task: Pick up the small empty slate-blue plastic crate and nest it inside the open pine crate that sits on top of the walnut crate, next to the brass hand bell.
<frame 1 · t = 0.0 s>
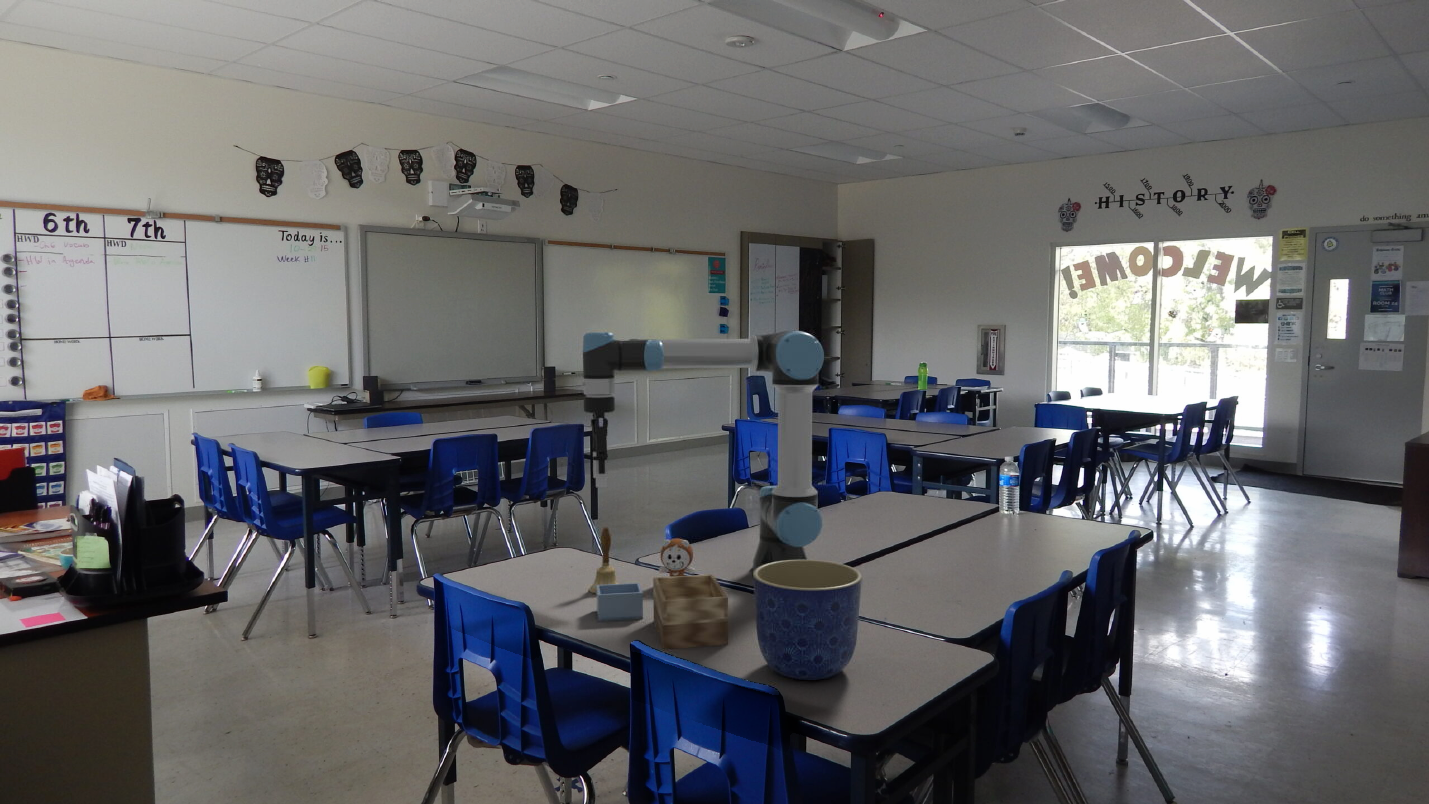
hand: (600, 482, 218), 28 cm above the table, fingers open, 13 cm apart
figurine: (676, 586, 227), on the table
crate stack: (689, 632, 192), on the table
hand bell: (605, 590, 224), on the table
planter: (806, 671, 171), on the table
blue crate: (619, 614, 205), on the table
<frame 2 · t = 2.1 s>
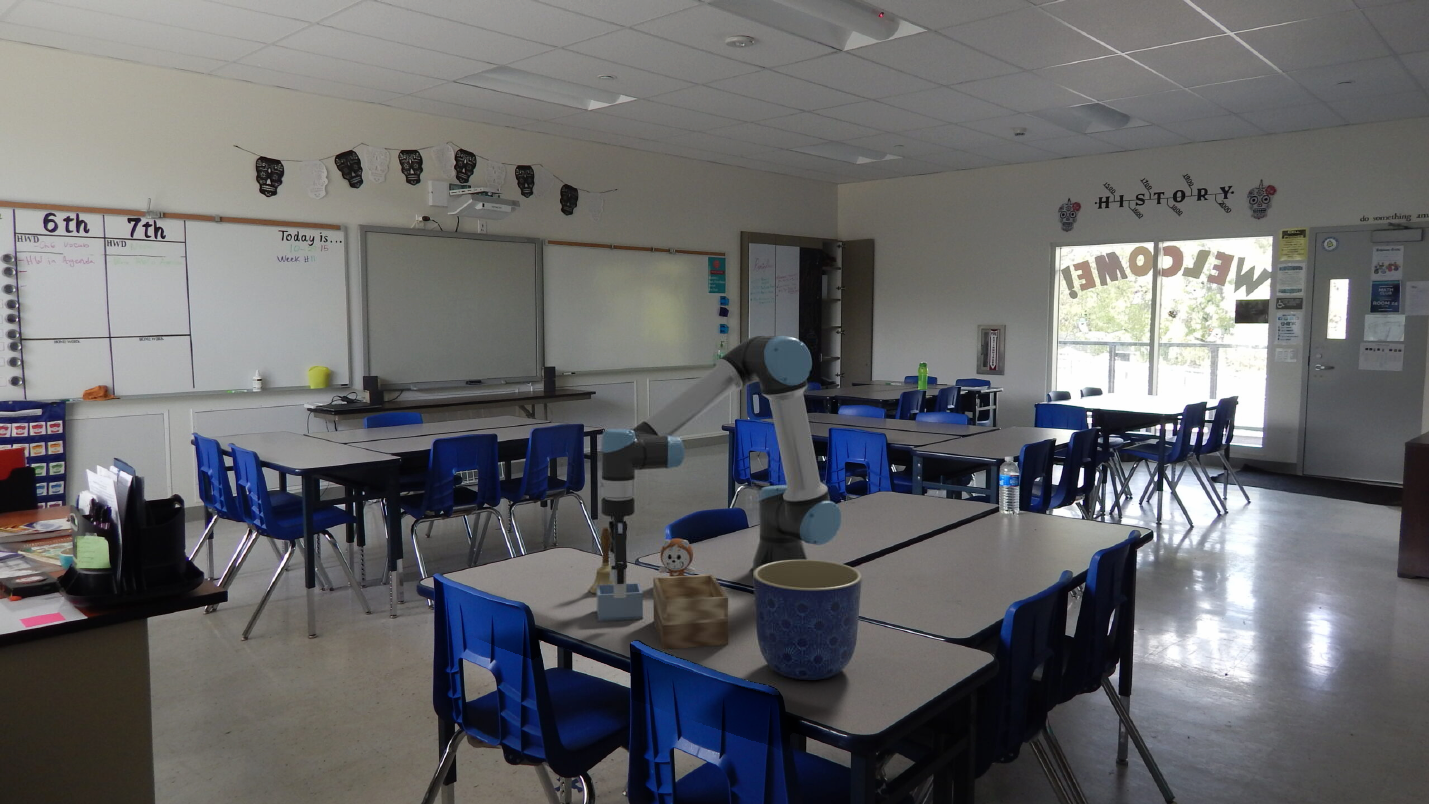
hand: (617, 588, 204), 6 cm above the table, fingers open, 13 cm apart
nothing on the table moved.
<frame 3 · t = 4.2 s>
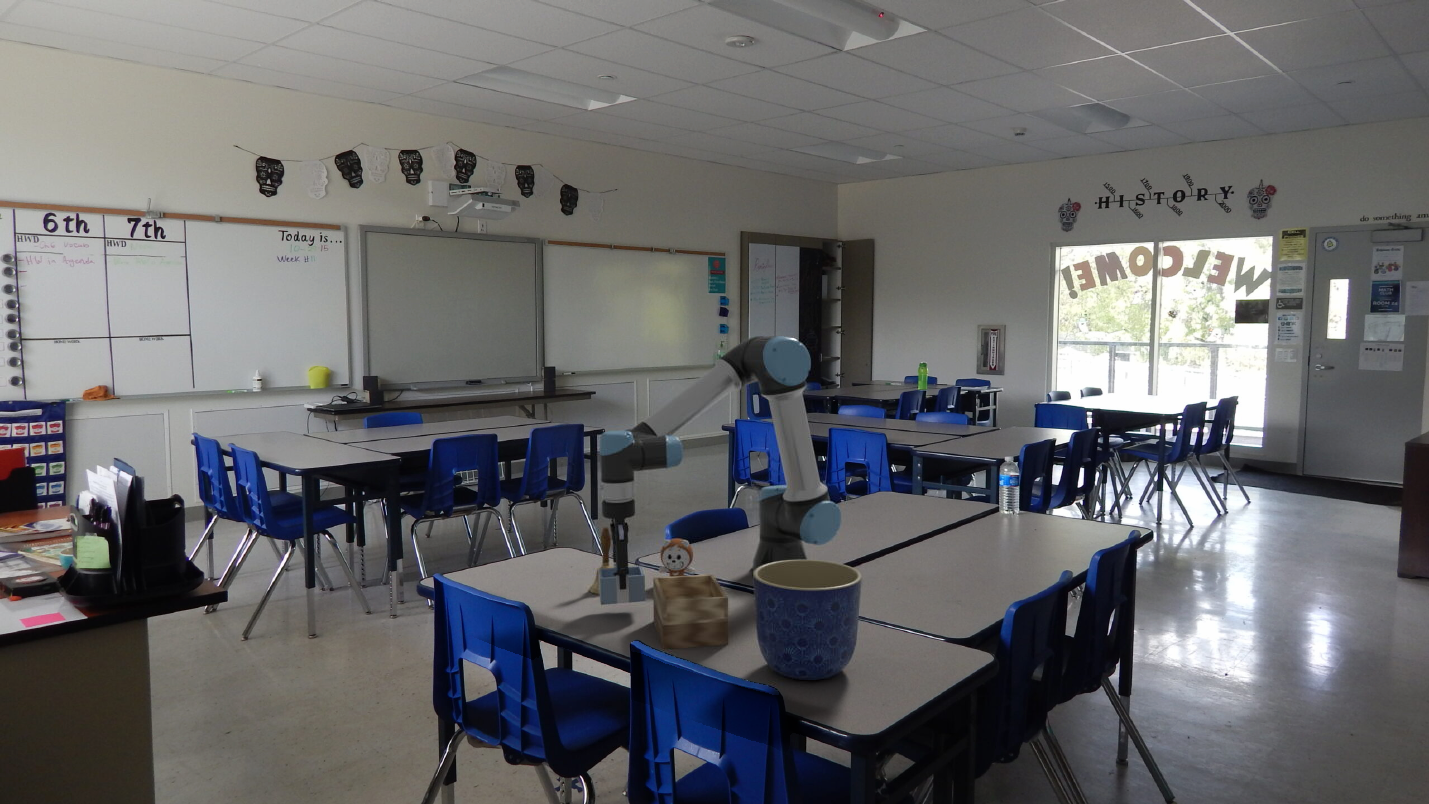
hand: (621, 596, 205), 4 cm above the table, fingers closed on blue crate, 8 cm apart
blue crate: (622, 597, 205), point 4 cm above the table, touching gripper
everything else where it was.
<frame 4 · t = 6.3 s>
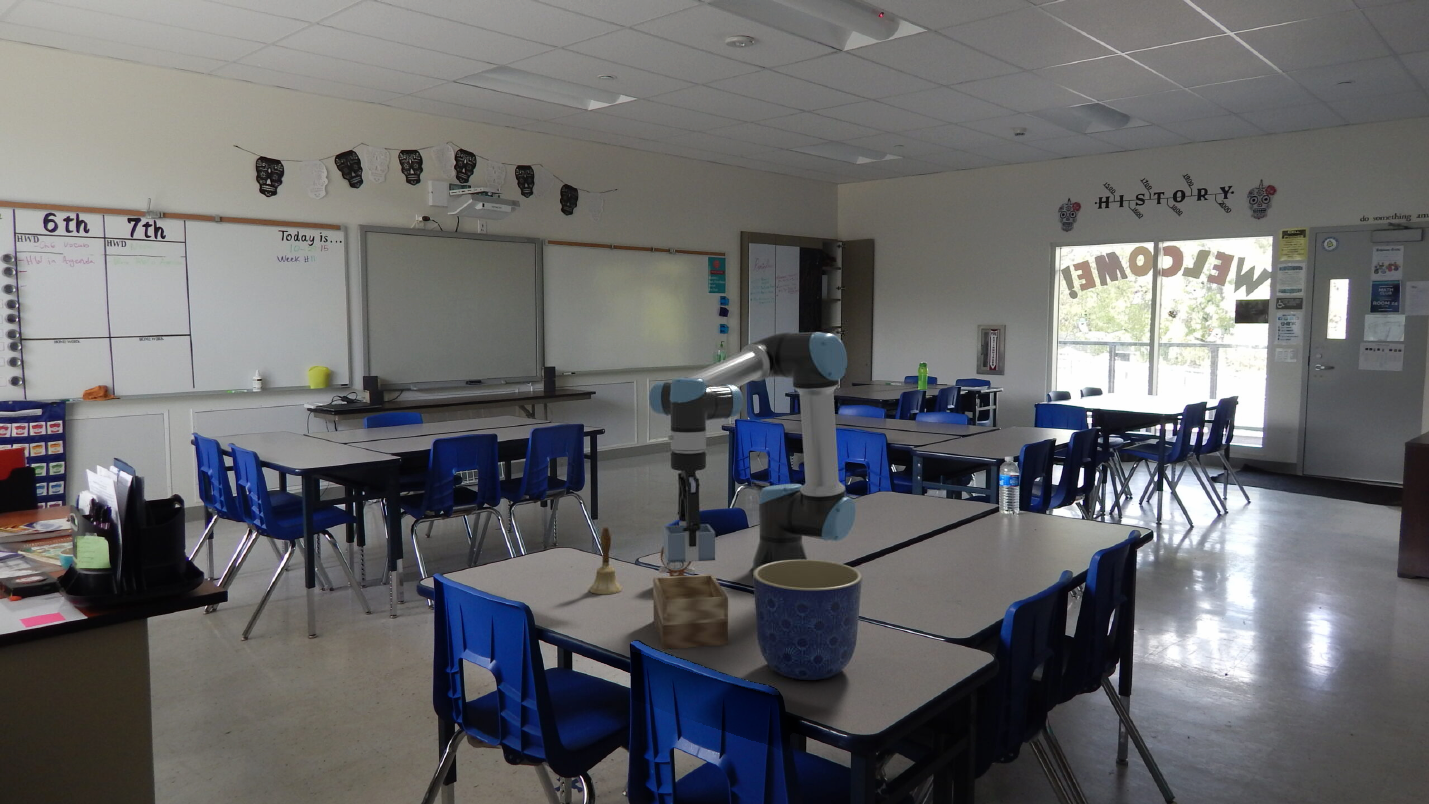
hand: (688, 555, 191), 17 cm above the table, fingers closed on blue crate, 8 cm apart
blue crate: (688, 556, 191), point 17 cm above the table, touching gripper
everything else where it was.
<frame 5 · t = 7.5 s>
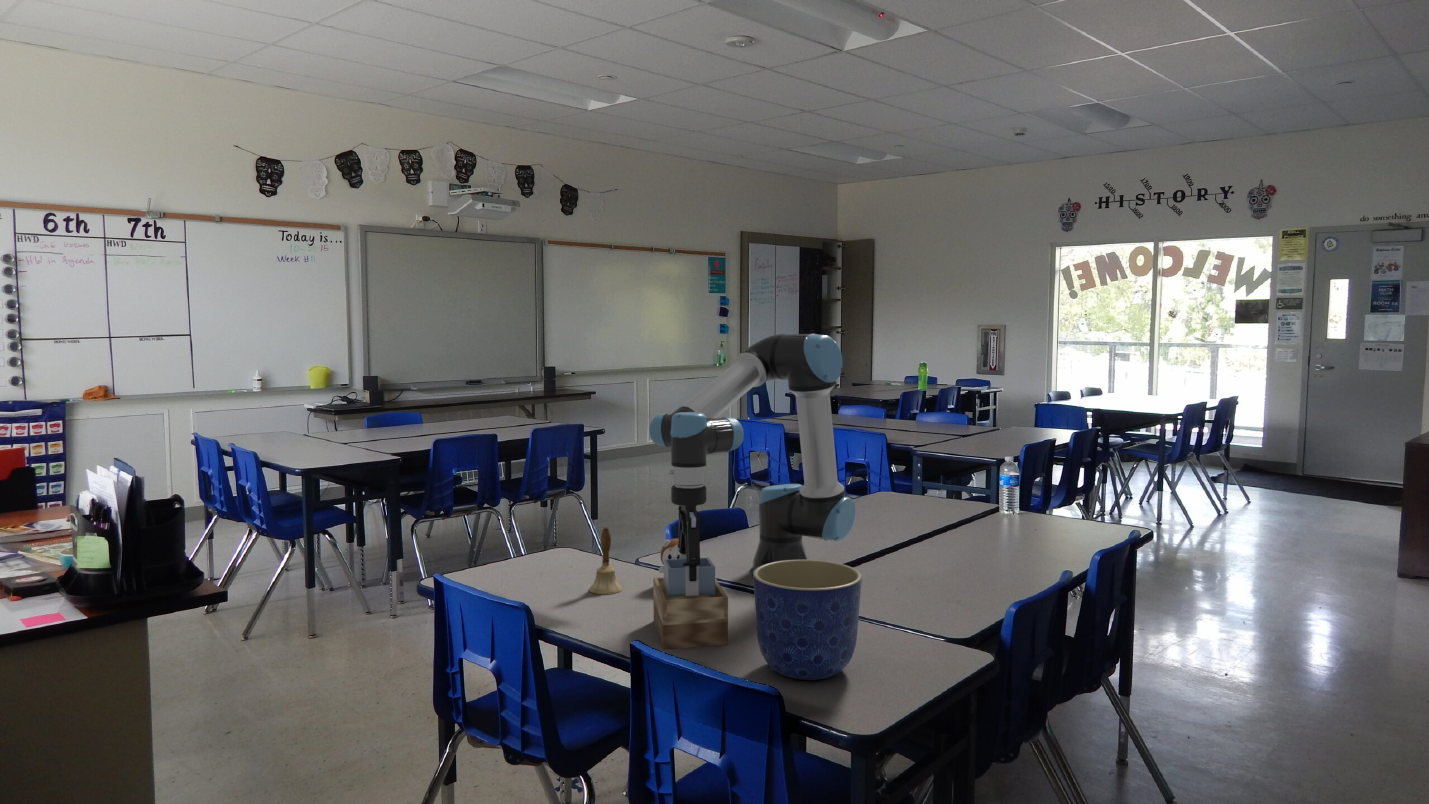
hand: (688, 589, 192), 10 cm above the table, fingers closed on blue crate, 8 cm apart
blue crate: (689, 590, 192), point 9 cm above the table, touching gripper
everything else where it was.
when the fingers open (7 cm above the table, at t = 8.4 s): blue crate drops 1 cm, resting on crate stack.
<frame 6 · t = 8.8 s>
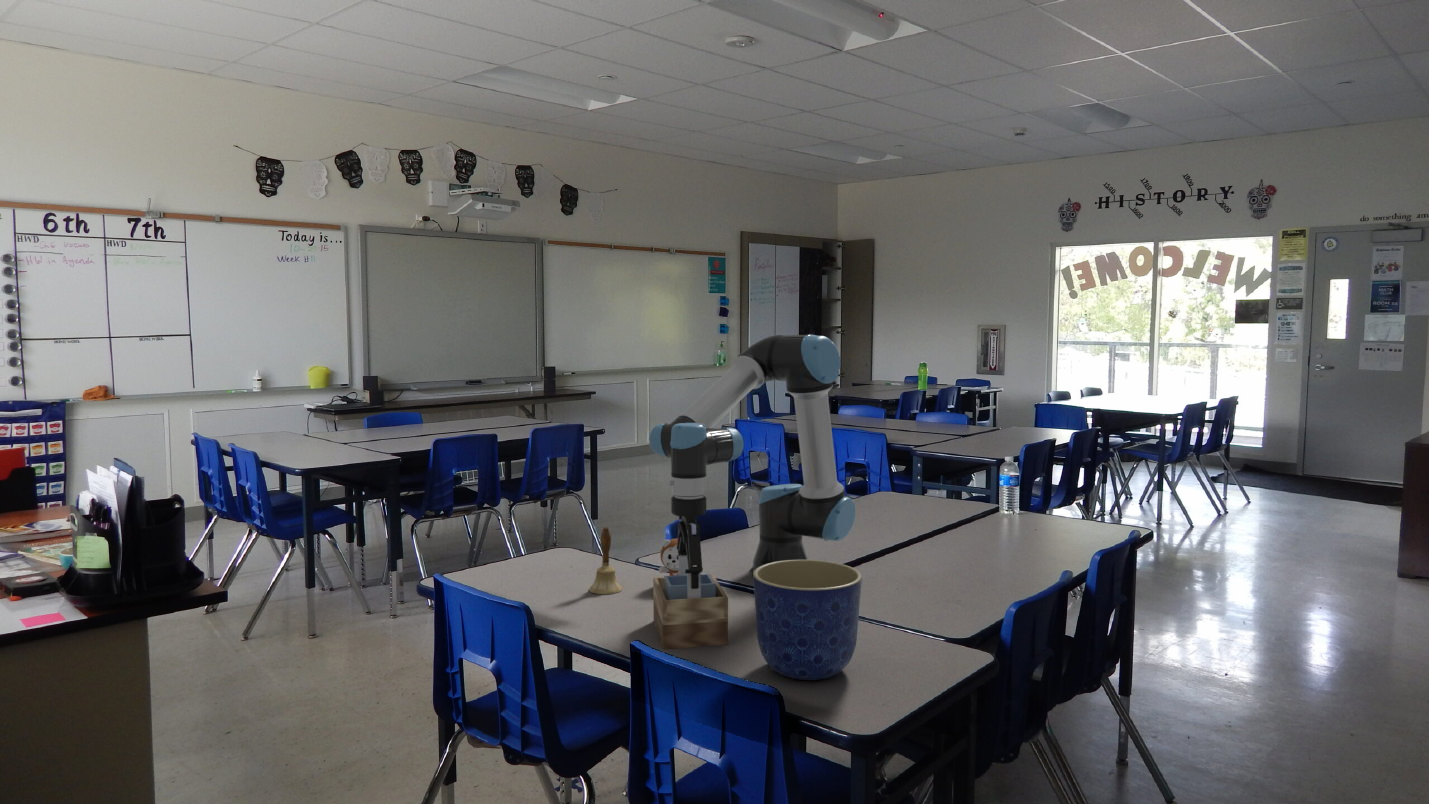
hand: (689, 593, 192), 9 cm above the table, fingers open, 13 cm apart
blue crate: (689, 607, 192), point 6 cm above the table, touching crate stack
everything else where it was.
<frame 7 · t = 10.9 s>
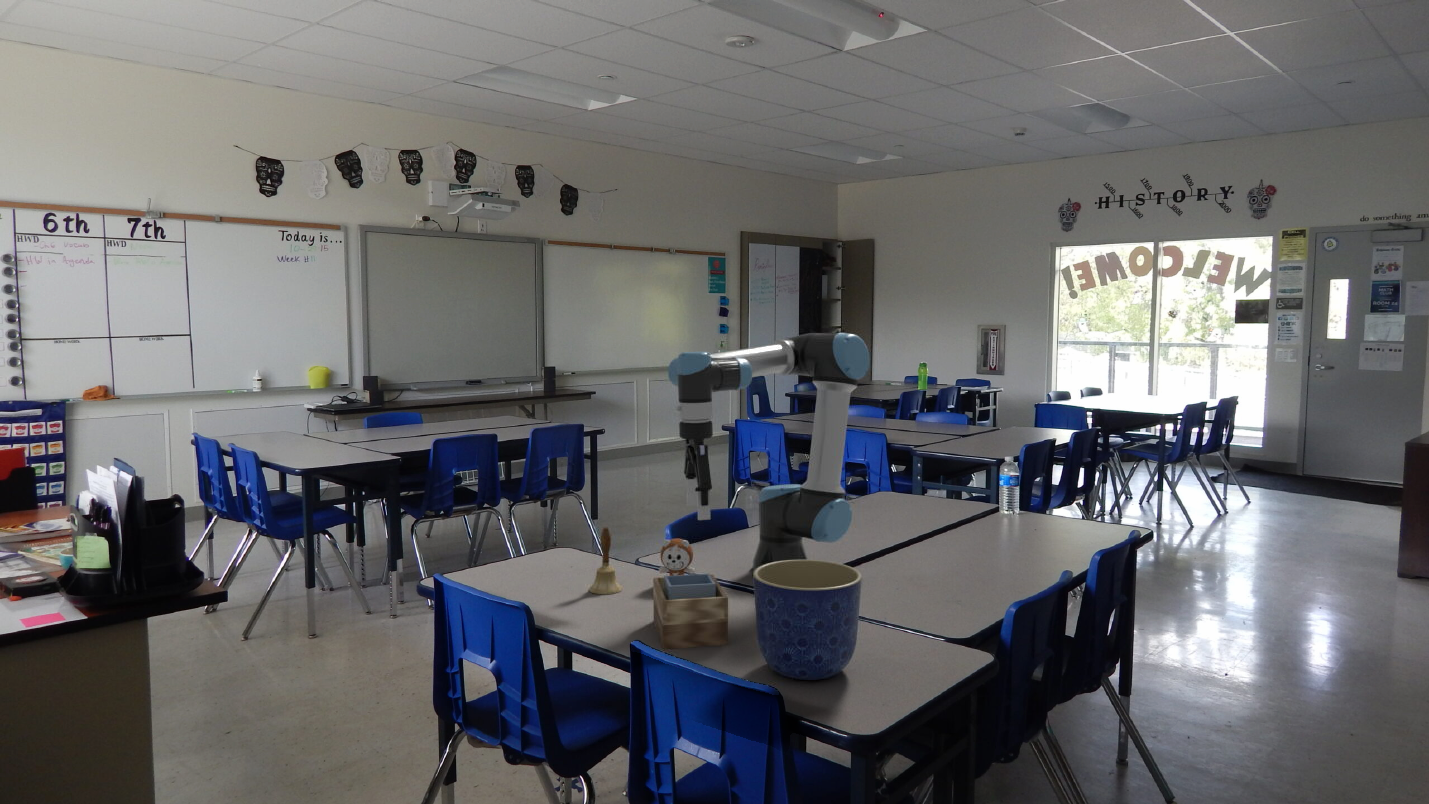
hand: (698, 512, 203), 24 cm above the table, fingers open, 13 cm apart
nothing on the table moved.
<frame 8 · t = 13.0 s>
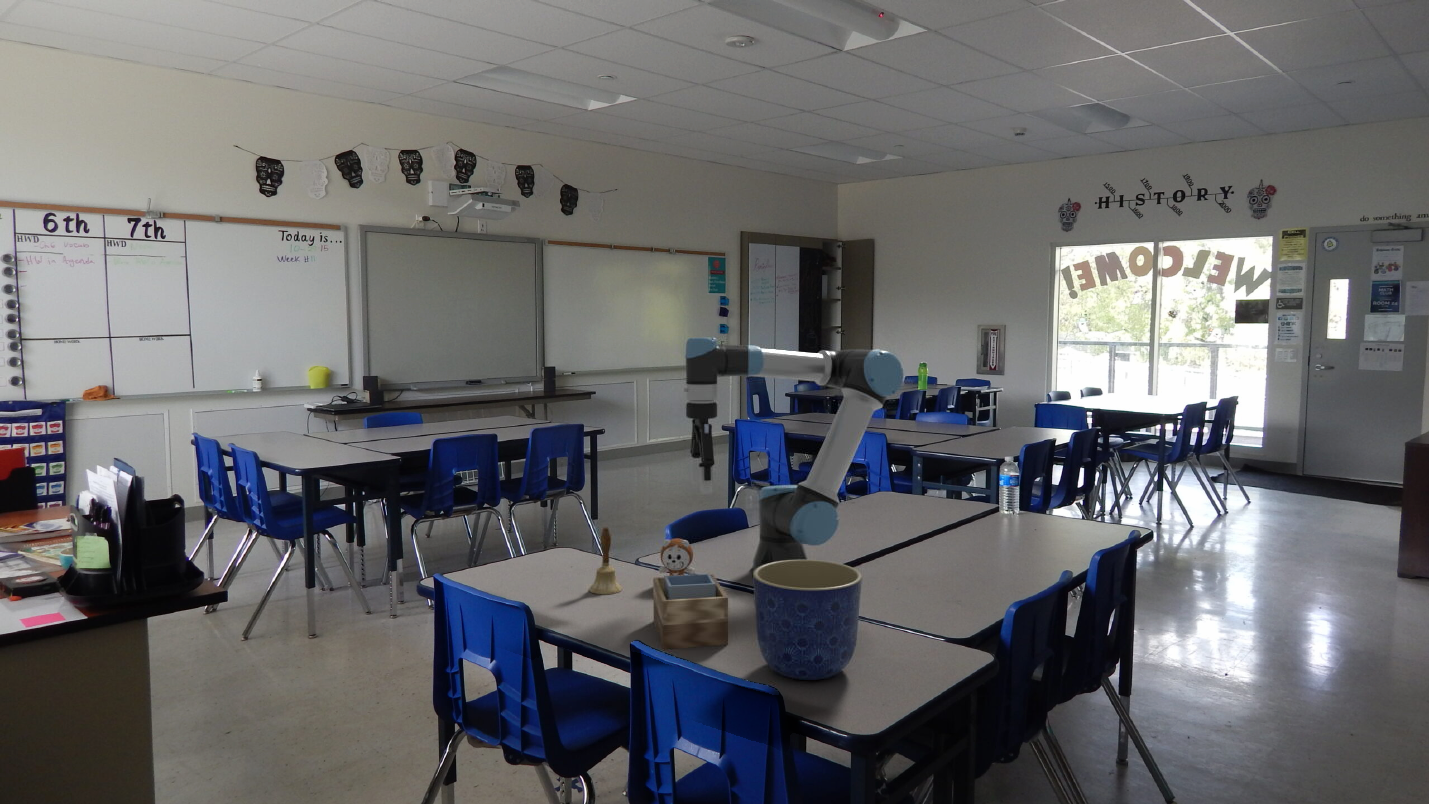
hand: (701, 488, 216), 27 cm above the table, fingers open, 13 cm apart
nothing on the table moved.
at the end: blue crate inside the target area on the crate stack (0.1 cm from its centre), point 5.6 cm above the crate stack's base; blue crate tilted 0°; the gripper is holding nothing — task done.
